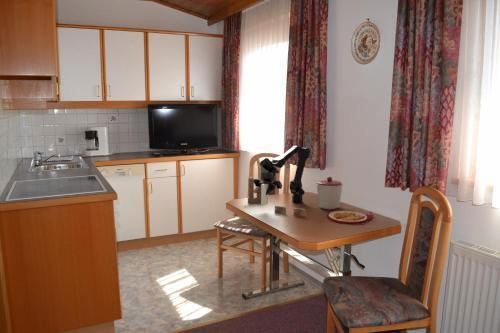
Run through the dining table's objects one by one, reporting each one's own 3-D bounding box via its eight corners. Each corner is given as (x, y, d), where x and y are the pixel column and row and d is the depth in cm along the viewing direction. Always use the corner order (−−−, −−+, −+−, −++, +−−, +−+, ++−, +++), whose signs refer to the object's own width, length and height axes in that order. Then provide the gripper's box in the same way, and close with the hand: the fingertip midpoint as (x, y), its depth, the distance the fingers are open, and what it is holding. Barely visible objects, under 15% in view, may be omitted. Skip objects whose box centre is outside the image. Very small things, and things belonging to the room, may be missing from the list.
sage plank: (263, 203, 265) (263, 183, 263) (268, 203, 263) (268, 183, 261) (261, 204, 261) (261, 184, 259) (265, 205, 260) (265, 185, 258)
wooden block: (263, 202, 289) (263, 177, 286) (249, 203, 284) (249, 178, 282) (261, 200, 292) (261, 176, 290) (247, 202, 288) (247, 177, 285)
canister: (319, 203, 284) (319, 173, 281) (345, 206, 276) (346, 175, 273) (311, 209, 268) (312, 177, 265) (339, 212, 260) (340, 179, 257)
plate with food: (331, 213, 262) (331, 207, 261) (373, 216, 250) (373, 211, 250) (320, 223, 240) (320, 217, 240) (366, 228, 229) (366, 221, 228)
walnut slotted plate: (274, 212, 259) (274, 206, 259) (275, 212, 261) (275, 205, 260) (304, 216, 250) (304, 209, 249) (305, 216, 251) (305, 209, 251)
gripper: (254, 166, 267) (246, 186, 259) (280, 168, 258) (273, 188, 250) (259, 176, 275) (252, 195, 267) (285, 178, 266) (278, 198, 258)
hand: (263, 194), depth 260 cm, fingers closed on sage plank, 3 cm apart
